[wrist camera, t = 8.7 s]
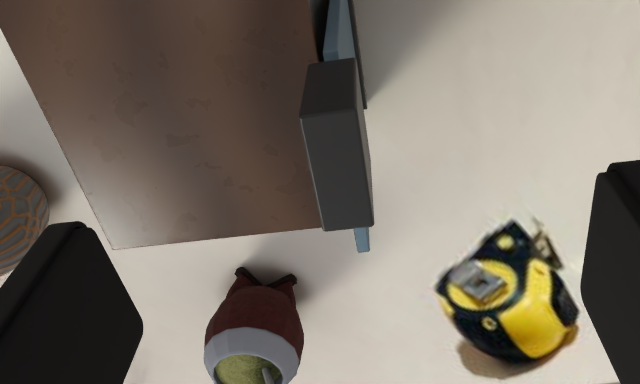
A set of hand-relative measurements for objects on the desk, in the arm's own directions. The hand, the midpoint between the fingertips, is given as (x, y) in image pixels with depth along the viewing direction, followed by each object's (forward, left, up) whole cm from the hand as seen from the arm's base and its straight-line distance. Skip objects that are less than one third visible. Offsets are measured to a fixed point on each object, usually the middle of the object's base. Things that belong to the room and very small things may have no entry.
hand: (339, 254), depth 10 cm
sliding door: (0, +3, -21) cm, 22 cm away
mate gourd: (+9, +22, -23) cm, 33 cm away
